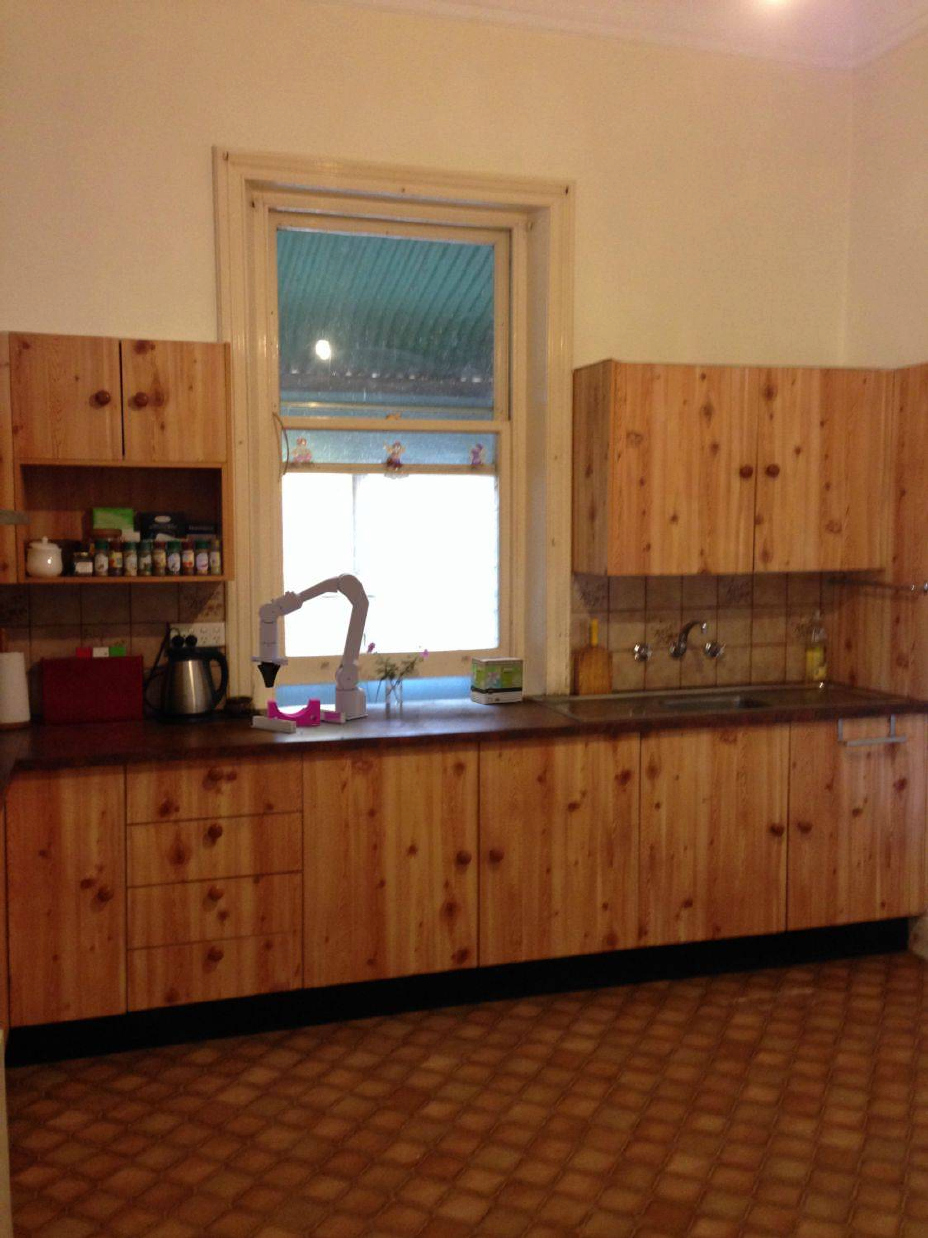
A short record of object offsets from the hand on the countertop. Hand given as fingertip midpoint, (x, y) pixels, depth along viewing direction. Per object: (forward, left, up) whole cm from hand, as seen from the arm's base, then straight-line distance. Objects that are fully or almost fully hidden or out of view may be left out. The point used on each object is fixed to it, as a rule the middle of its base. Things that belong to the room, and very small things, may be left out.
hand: (269, 687), depth 328 cm
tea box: (-73, +32, -10) cm, 80 cm away
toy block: (+1, +11, -10) cm, 15 cm away
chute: (0, +13, -10) cm, 16 cm away
